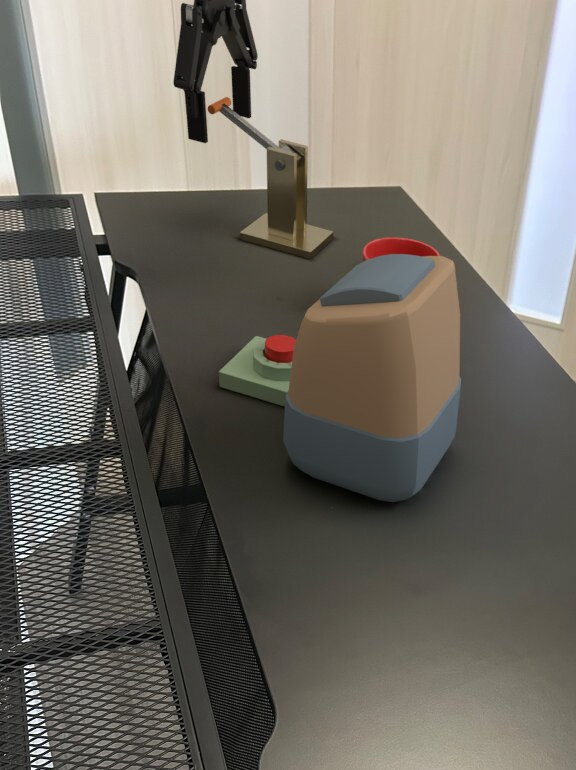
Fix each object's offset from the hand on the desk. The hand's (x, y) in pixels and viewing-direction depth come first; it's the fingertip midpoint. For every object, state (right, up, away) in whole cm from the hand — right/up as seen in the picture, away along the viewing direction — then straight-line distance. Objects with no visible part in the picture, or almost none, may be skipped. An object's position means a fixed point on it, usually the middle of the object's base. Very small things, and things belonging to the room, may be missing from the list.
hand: (221, 128), depth 128 cm
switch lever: (+5, -2, 0) cm, 5 cm away
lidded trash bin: (+25, -55, -28) cm, 67 cm away
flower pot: (+26, -30, -4) cm, 41 cm away
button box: (+13, -43, -20) cm, 49 cm away
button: (+14, -41, -22) cm, 48 cm away
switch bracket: (+8, -13, +9) cm, 18 cm away
